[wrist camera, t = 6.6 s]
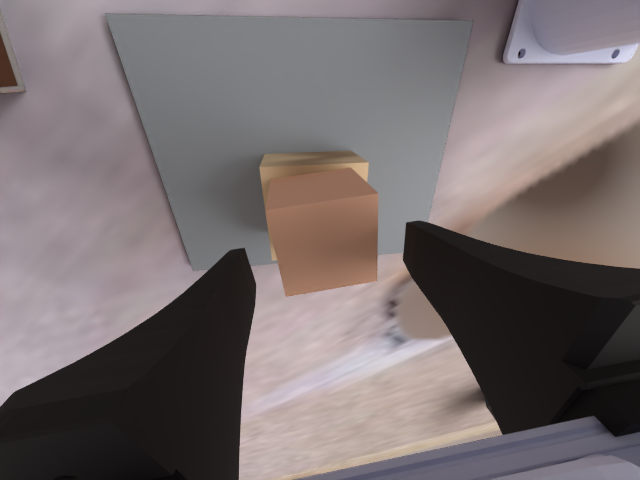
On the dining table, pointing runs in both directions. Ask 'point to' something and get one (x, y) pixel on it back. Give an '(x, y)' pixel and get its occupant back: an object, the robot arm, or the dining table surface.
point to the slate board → (288, 112)
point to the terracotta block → (323, 230)
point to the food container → (8, 64)
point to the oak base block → (306, 169)
